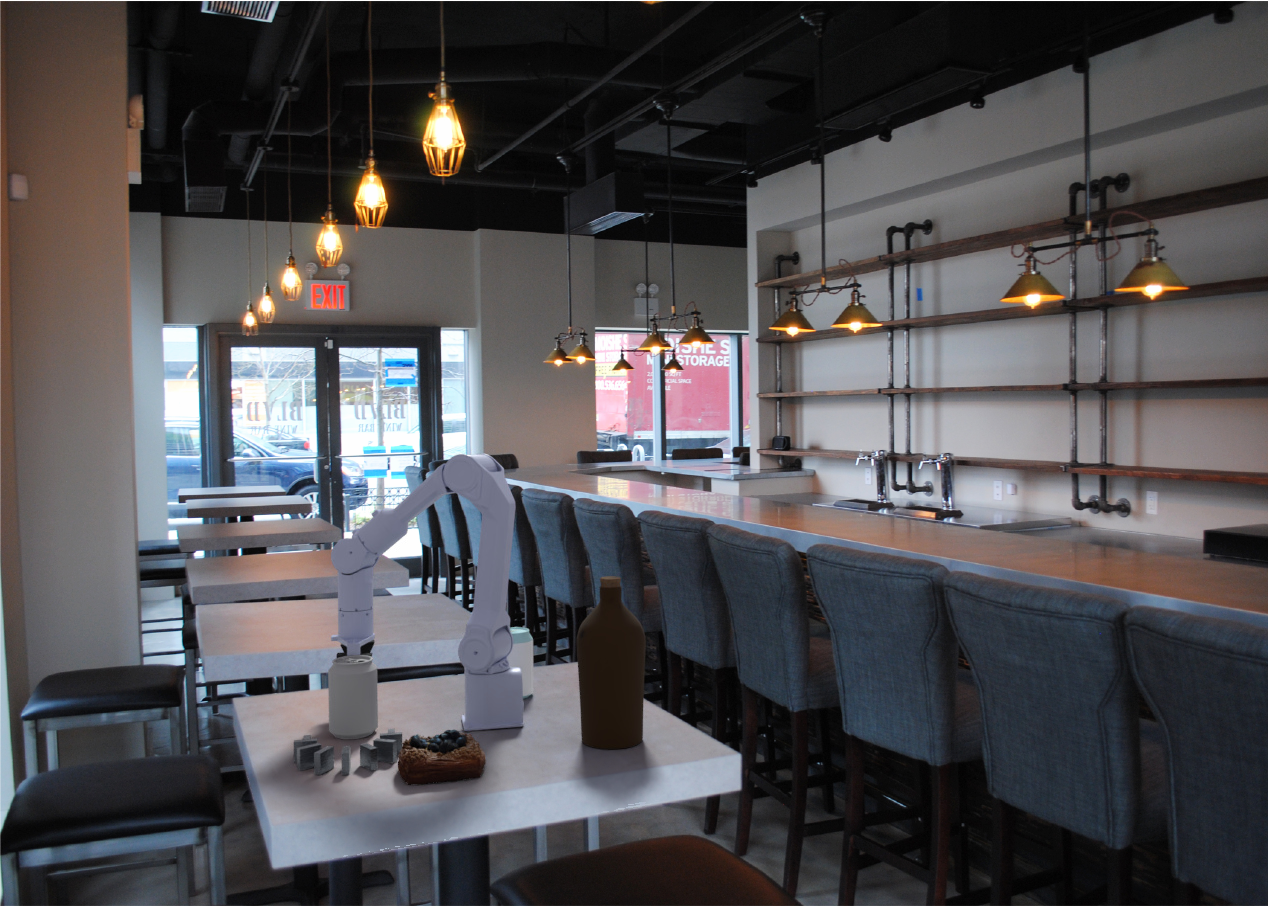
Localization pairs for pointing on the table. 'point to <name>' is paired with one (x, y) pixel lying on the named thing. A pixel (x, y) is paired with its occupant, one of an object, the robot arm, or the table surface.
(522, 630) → the can
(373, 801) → the table surface
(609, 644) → the olive oil
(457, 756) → the pastry
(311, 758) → the ring collar
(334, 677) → the can
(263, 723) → the table surface
